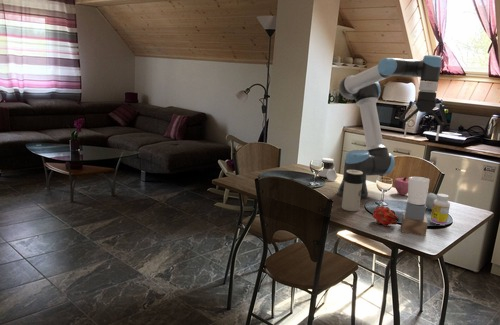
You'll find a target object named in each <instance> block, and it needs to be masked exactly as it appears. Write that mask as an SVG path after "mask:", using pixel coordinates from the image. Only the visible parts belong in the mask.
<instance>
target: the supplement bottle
mask: <svg viewBox="0 0 500 325" xmlns="http://www.w3.org/2000/svg"><path fill="white" fill-rule="evenodd" d="M436 195H437V199H436V200H434V202H433V208H432V210H431V213H430V214H431V215H430V220H429V221H430V222H431V223H432V222H433V223H436V224H440V225H439V226H446V225H447V223H448V220H449V219H448V218H449V213H450V207H451V203H450V202H449V199H450V198H449V195H448V194H445V193H437V194H436ZM433 223H432V224H433ZM436 224H435V225H436ZM445 224H446V225H445Z"/></svg>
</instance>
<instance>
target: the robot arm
mask: <svg viewBox="0 0 500 325" xmlns="http://www.w3.org/2000/svg"><path fill="white" fill-rule="evenodd" d="M442 59H443V58H442V57H441V56H440V55H432V54H431V55H428V54H426V55H424V56H423V58H422V60H421V59H420V60H419V59H408V58H407V59H406V58H404V59H403V58H397V57H395V58H394V57H384V58H381V59H380V61H378V64H376V65H374V66H372V67H370V68H368V69H365V70H364V71H363V70H362V71H361V72H359V73H357V74H355V75H353V74H351V75H347V76H346V77H344V78H342V79H341V80H340V82H339V85H338V91H339V94H340V95H341V96H342V97H343V98H345V99H347V100H353V101H354V100H355V105H356V106H358V107H359V110H360V111H359V112H360V117H361V122H362V128H363V133H364V139H365V144H366V149H365V150H364V149H352V150H349V151H347V153H346V154H345V158H344V166H343V175H342V181H341V183H340V185H339V187H338V189H337V190H338V191H337V194H338V195H339V196H340V197H342V198H343V191H344V182H345V177H346V175H347V172H346V171H347V170H358V171H361V172H363V174H362V179H363V182H362V190H361V198H360V200H365V199H367V198H368V197H369V196H368V195H369V191H368V187H367V186H368V185H367V177H368V176H385V175H386V176H387V175H389V174H391V173H392V172H393V170H394V167H395V164H396V162H395V160H396V159H395V156H394V155H393V154H392V153H390V152H389V151H388V150H389V149H388V147H386V146H385V145H384V141H383V136H382V135H383V134H382V130H381V125H380V119H379V114H378V108H377V102H378V101H379V98H380V96H381V92H382V90H381V84H380V83H379V82H381V81H383V80H386V79H388V78H391V77H394V76H396V77H407V78H420V79H419V86H418V90H419V91H418V93H417V100H416V101H412V100H409V103H408V106H407V107H406V109H405V110H404V112H403V113H402V114H401V116H400V118H399V119H398V121H400V122H402V128H401V129H402V130H404V134H403V138H406V137H407V129H408V121H409V120H410V119H411V118H412V117H414V116H415V115H416V114H417V113H418V112H420V113H428V114H429V113H431V114H432V116H433V117H434V118H435V120H436V121H437V123H438V125H437V129H436V133H435V134H436V135H435V141H439V135H440V134H442V133H443V127H444V126H448V125H449V123H448V121H447V118H446V114H445V111H444V109H443V103H441V102H440V103H436V101H437V100H436V99H437V91H438V88H439V80H440V73H441V68H442V61H443V60H442ZM414 106H416V108H415V109H414V110H413V111H412V112H410V114H409V115H408V112H409V111H410V109H412V107H414ZM436 107H437V109H438V110H439V112H440V115H441V118H442V121H441V119H440V118H439V117H438V115H437V114H436V112H435V111H434V109H435V108H436ZM407 115H408V116H407ZM406 116H407V117H406ZM405 117H406V118H405Z"/></svg>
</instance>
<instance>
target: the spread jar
mask: <svg viewBox="0 0 500 325" xmlns="http://www.w3.org/2000/svg"><path fill="white" fill-rule="evenodd" d="M321 162H323V163H324V168H323V171H321V172H320V173H319V174H317V175H318V176H317V177H318V178H320V179H321V178H323V179H322V180H326V179H327V180H328V181H329V182H335V181H336V179H337V177H338V174H337V172H336V170H335V163H334V158H330V157H323V158H322V157H321ZM327 180H326V181H327Z"/></svg>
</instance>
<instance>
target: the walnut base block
mask: <svg viewBox="0 0 500 325" xmlns="http://www.w3.org/2000/svg"><path fill="white" fill-rule="evenodd" d="M405 212H406V211H405ZM405 212H404V211H403V212H402V219H401V225H400V227H401V233H403V234H408V235H409V234H411V235H415V236H420V237H426V235H427V232H428V231H427V230H428V224H429V222H428V218H427V215H424V221H419V220H413V219H408V218H405Z"/></svg>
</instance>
